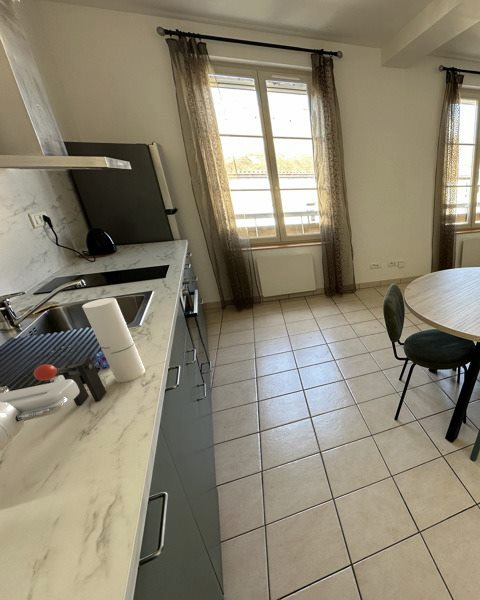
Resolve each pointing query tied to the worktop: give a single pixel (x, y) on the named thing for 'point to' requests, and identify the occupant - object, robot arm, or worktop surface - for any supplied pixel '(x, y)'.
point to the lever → (53, 371)
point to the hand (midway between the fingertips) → (33, 383)
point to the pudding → (101, 360)
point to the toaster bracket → (86, 381)
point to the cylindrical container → (114, 338)
